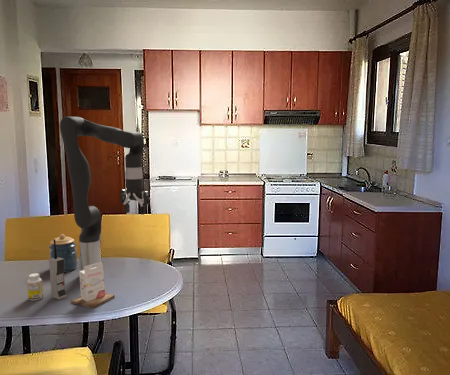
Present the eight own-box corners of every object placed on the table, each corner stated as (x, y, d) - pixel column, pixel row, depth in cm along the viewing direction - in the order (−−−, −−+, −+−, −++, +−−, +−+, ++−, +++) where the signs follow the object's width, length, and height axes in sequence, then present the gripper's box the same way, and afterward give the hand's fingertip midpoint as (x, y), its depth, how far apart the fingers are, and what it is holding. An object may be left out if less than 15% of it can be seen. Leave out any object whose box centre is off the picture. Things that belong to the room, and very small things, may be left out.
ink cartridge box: (99, 292, 182) (97, 259, 179) (105, 296, 178) (103, 261, 176) (80, 298, 176) (78, 263, 173) (86, 302, 172) (84, 266, 170)
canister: (82, 265, 221) (80, 231, 219) (68, 273, 209) (66, 238, 206) (60, 263, 224) (58, 230, 222) (44, 271, 212) (42, 236, 209)
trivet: (71, 302, 174) (71, 300, 174) (92, 292, 185) (92, 290, 184) (94, 308, 169) (93, 305, 168) (114, 297, 179) (114, 294, 179)
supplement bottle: (36, 295, 182) (34, 271, 181) (46, 297, 180) (44, 273, 179) (25, 299, 177) (23, 276, 176) (35, 302, 175) (33, 277, 174)
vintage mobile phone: (59, 300, 177) (55, 241, 173) (51, 297, 179) (47, 239, 176) (66, 297, 180) (63, 239, 176) (59, 294, 183) (55, 237, 179)
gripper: (115, 177, 189) (117, 213, 191) (141, 179, 183) (143, 216, 185) (126, 175, 196) (127, 210, 198) (152, 177, 189) (153, 213, 192)
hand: (135, 213), depth 191 cm, fingers open, 8 cm apart
